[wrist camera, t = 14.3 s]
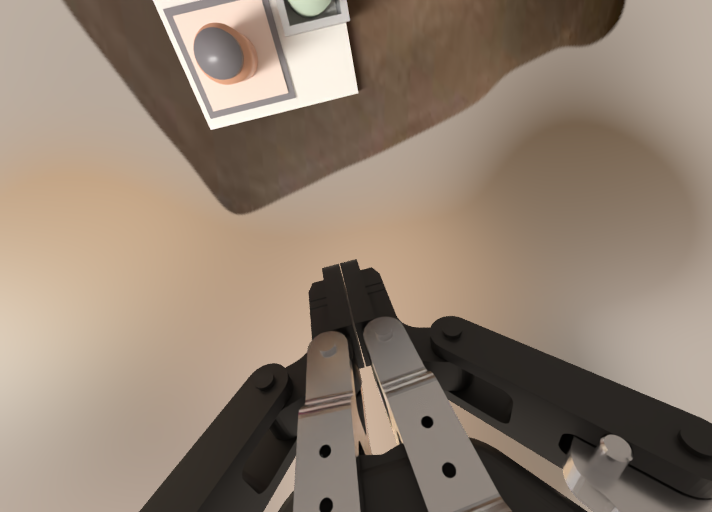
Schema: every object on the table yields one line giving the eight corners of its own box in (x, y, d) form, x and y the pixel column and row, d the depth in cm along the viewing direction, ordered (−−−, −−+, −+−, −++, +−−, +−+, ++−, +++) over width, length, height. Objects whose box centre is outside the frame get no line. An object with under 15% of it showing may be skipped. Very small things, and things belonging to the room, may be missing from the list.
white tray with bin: (330, -60, 27) (335, -75, 24) (356, 92, 34) (363, 96, 31) (148, -18, 27) (128, -27, 23) (212, 127, 33) (204, 136, 30)
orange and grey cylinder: (251, 28, 28) (237, 16, 22) (262, 78, 30) (253, 81, 24) (206, 33, 28) (177, 23, 21) (221, 84, 30) (199, 89, 23)
